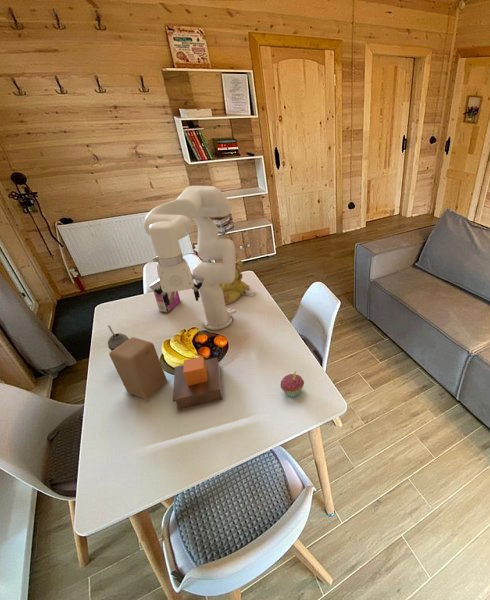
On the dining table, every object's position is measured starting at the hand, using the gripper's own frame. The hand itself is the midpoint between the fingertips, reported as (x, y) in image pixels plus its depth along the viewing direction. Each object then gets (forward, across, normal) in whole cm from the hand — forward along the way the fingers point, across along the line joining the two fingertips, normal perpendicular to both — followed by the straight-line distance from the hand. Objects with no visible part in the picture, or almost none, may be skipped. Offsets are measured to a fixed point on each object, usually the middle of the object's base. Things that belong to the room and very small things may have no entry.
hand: (183, 301), depth 122 cm
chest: (+30, 0, -15) cm, 34 cm away
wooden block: (+31, -19, -8) cm, 37 cm away
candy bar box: (+31, -14, +49) cm, 60 cm away
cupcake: (+31, +32, -28) cm, 52 cm away
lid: (+25, -1, -15) cm, 29 cm away
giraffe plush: (+31, +16, +51) cm, 62 cm away
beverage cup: (+31, -27, +8) cm, 42 cm away
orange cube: (+24, 0, -15) cm, 29 cm away
